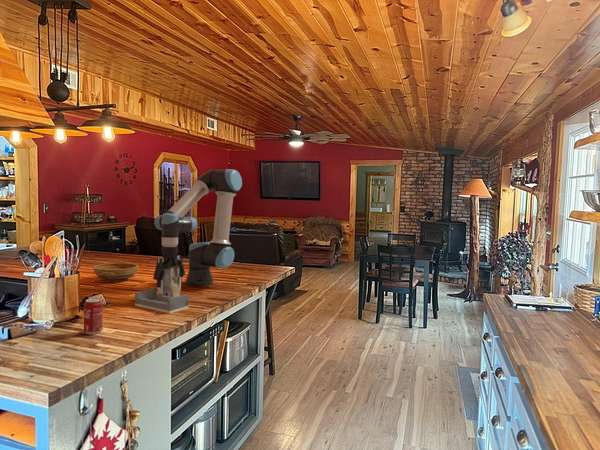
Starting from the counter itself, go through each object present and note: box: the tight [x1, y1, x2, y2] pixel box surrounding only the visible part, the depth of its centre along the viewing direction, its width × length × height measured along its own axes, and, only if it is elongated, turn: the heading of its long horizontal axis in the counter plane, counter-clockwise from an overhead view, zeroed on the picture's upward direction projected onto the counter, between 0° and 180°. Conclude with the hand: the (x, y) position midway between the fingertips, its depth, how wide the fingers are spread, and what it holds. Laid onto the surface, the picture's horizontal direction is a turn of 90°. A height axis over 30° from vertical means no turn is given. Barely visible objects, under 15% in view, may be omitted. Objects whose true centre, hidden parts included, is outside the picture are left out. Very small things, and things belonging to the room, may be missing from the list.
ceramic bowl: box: [92, 262, 140, 283], centre depth 252 cm, size 30×24×8 cm
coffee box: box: [159, 265, 181, 297], centre depth 210 cm, size 9×6×16 cm
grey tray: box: [134, 287, 190, 314], centre depth 197 cm, size 11×22×6 cm, turn 60°
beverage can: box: [83, 298, 104, 335], centre depth 161 cm, size 6×6×12 cm
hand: (169, 291), depth 211 cm, fingers closed on coffee box, 10 cm apart
